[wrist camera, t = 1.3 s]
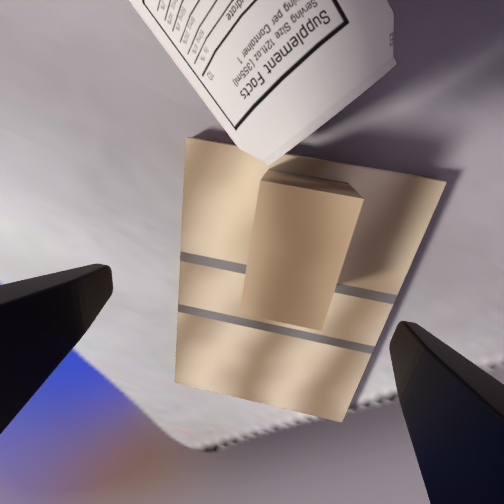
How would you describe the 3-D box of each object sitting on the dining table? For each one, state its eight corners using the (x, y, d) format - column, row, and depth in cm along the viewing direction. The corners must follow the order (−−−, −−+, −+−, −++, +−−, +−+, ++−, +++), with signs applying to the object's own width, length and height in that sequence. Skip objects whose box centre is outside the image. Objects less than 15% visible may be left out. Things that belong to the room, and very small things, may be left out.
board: (437, 178, 17) (446, 182, 16) (340, 410, 27) (341, 422, 26) (192, 137, 19) (185, 137, 18) (179, 372, 28) (174, 382, 27)
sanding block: (348, 182, 17) (364, 198, 13) (316, 291, 21) (321, 331, 16) (268, 168, 18) (260, 180, 13) (250, 277, 21) (239, 313, 17)
